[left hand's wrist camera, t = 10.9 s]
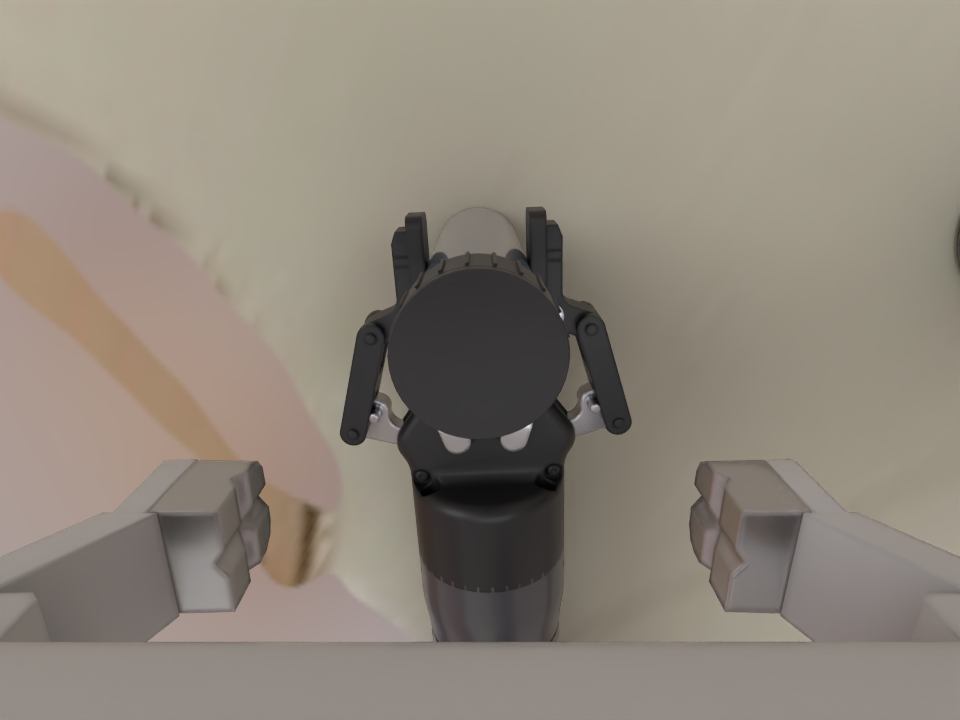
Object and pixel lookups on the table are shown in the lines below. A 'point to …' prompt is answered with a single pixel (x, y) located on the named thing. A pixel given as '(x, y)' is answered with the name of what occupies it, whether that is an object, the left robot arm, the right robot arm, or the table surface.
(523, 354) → the lid
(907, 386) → the table surface
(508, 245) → the jar
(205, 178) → the table surface
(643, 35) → the table surface
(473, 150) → the table surface
